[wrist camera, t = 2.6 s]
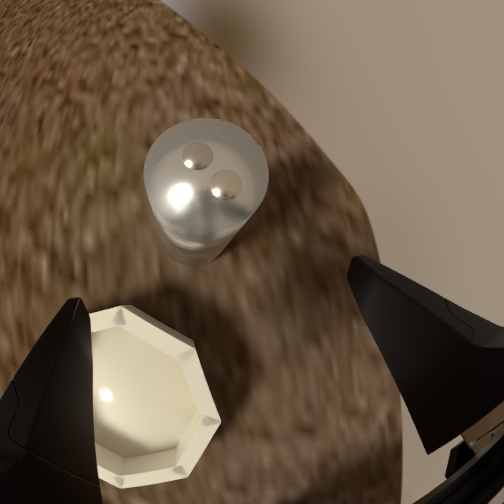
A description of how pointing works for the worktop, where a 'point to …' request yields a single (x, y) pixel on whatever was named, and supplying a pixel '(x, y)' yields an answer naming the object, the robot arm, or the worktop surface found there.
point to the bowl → (147, 399)
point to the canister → (203, 186)
